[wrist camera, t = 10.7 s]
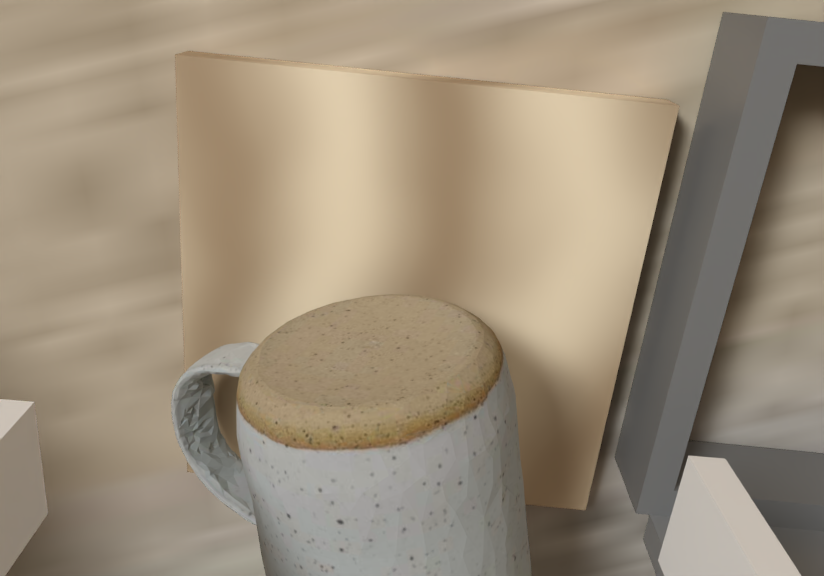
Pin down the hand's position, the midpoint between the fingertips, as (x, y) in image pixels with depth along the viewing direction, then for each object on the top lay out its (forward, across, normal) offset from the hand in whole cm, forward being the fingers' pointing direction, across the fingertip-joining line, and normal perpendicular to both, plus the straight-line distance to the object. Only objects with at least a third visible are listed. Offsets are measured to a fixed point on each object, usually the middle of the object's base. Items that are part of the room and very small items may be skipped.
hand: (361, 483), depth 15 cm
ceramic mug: (+9, 0, 0) cm, 9 cm away
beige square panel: (+10, +1, 0) cm, 10 cm away
